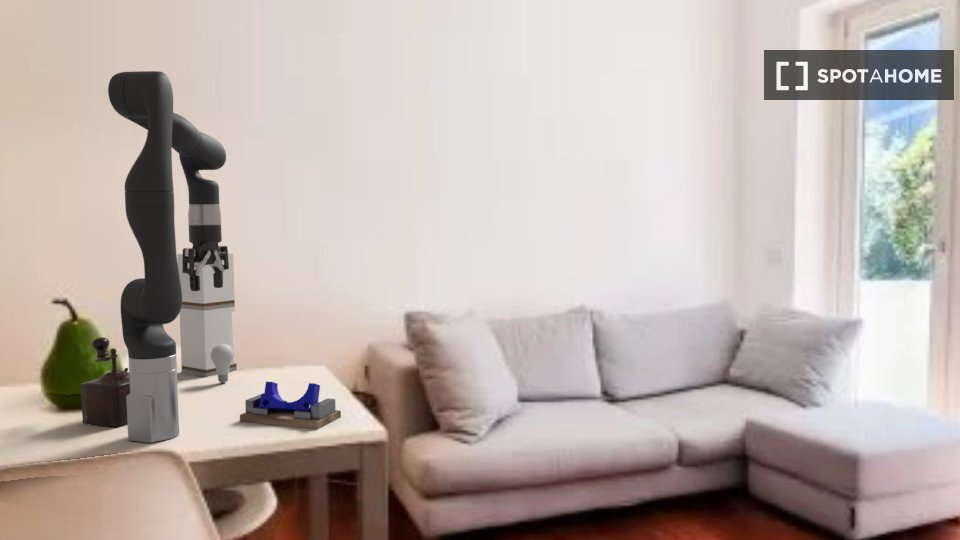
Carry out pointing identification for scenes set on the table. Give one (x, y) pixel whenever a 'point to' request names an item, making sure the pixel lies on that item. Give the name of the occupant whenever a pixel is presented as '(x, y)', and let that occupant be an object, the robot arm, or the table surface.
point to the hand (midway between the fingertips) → (207, 289)
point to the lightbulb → (222, 360)
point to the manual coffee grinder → (106, 392)
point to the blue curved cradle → (277, 403)
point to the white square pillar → (205, 319)
